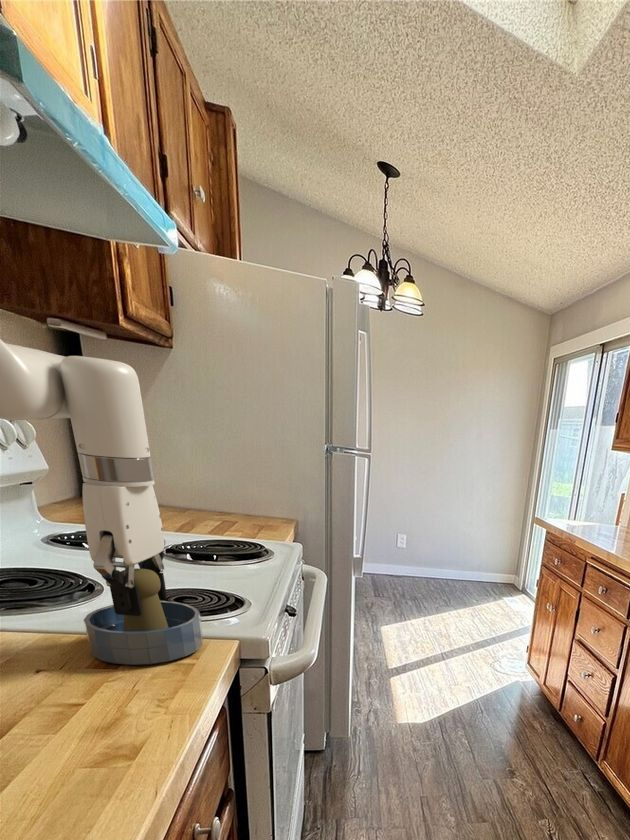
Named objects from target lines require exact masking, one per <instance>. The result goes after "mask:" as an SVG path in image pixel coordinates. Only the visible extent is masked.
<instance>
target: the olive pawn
mask: <svg viewBox="0 0 630 840" xmlns="http://www.w3.org/2000/svg"><path fill="white" fill-rule="evenodd" d="M120 572H121V573H122V574H123V575H124V576H125V569H123V570H120ZM134 586H138V590H139V596H140V601H141V607H142V614H141V615H140V616H131V615H124V632H139V631H152V630H160V629H166V628H169V627H168V624H167V621H166V618H165V615H164V612H163V609H162V606H161V602H160V601H161V600H160V599H159V596H158V592H159V590H160V587H161V584H160V579H159V576H158V575H157V574H156V573H155V572H154V571H152V570H148V569H140V568H139V567H138V568H137V567H136V568H134Z"/></svg>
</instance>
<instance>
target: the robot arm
mask: <svg viewBox="0 0 630 840" xmlns="http://www.w3.org/2000/svg"><path fill="white" fill-rule="evenodd" d="M143 404H144V403H143V399H142V393H141V385H140V381H139V376H138V374H137V372H136V371H135V369H134V368H133V367H132V366H131V365H129V364H128V363H126V362H122V361H117V360H112V359H106V358H101V357H99V358H98V357H91V356H83V355H68V356H64V355H59V354H56V353H52V352H49V351H44V350H42V349H41V350H40V349H36V348H32V347H27V346H22V345H17V344H12V343H7V342H4V341H3V340H2V339H1V338H0V420H4V421H5V420H6V421H28V420H31V421H32V420H53V419H70V422H71V423H70V424H71V427H72V432H73V438H74V442H75V447H76V452H77V456H78V460H79V466H80V472H81V475H82V481H83V483H82V492H81V493H82V511H83V519H84V529H85V534H86V541H87V546H88V550H89V552H88V553H89V555H90V559H91V561H92V562H93V565H92V566H93V569H94V570H95V571H96V572H98V574H100V575H101V577H102V579H103V580H104V581H105V584H106V586H107V587H109V590H110V594H111V599H112V605H114V610H115V613H116V614H118V615H131V616H140V615H141V614H142V607H141V601H140V596H139V590H138V586H134V569H135V568H136V567H135V565H138V568H139V569H148V570H152V571H154V572H155V573H156V574H157V575H158V576H159V579H160V584H161V587H160V590H159V592H158V596H159V599H160V601H167V599H168V593H167V587H166V582H165V575H164V572H165V565H164V562H163V559H164V557H165V553H164V551H165V547H166V539H165V535H164V527H163V522H162V518H161V513H160V508H159V503H158V500H157V496H156V492H155V489H154V485H155V484H156V482H155V475H154V470H153V463H152V457H151V452H150V443H149V438H148V431H147V425H146V419H145V412H144V411H145V410H144V405H143ZM116 559H122V561H116ZM117 568H121V569H124V570H125V576H124V575H123V574H122V573H121V570H119V569H117Z"/></svg>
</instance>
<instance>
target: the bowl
mask: <svg viewBox="0 0 630 840" xmlns="http://www.w3.org/2000/svg"><path fill="white" fill-rule="evenodd" d="M160 602H161V606H162V609H163V612H164V615H165V618H166V621H167V624H168V627H169V628H166V629H160V630H152V631H139V632H124V615H118V614H116V613H115V610H114V605H113V604H110V605H106V606H104V607H100V608H97V609H96V610H93V611H91V612H90V613H87V615H85V617H84V618H83V624H84V629H85V632H86V636H87V640H88V645H89V650H90V652H91V654H92V656H93V657H94V658H96V659H98V660H100V661H102V662H105V663H106V662H107V663H111V664H118V665H127V666H128V665H129V666H131V665H132V666H146V665H156V664H162V663H167V662H172V661H175V660H179V659H181V658H184V657H187V656H189V655H192V654H193V653H196V652H198V650H199V649H200V648H202V647H203V645H204V634H203V627H202V619H201V618H202V617H201V612H200V611H199V609H197V608H196V607H194V606H192V605H189V604H187V603H183V602H177V601H168V600H164V601H162V600H160Z"/></svg>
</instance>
